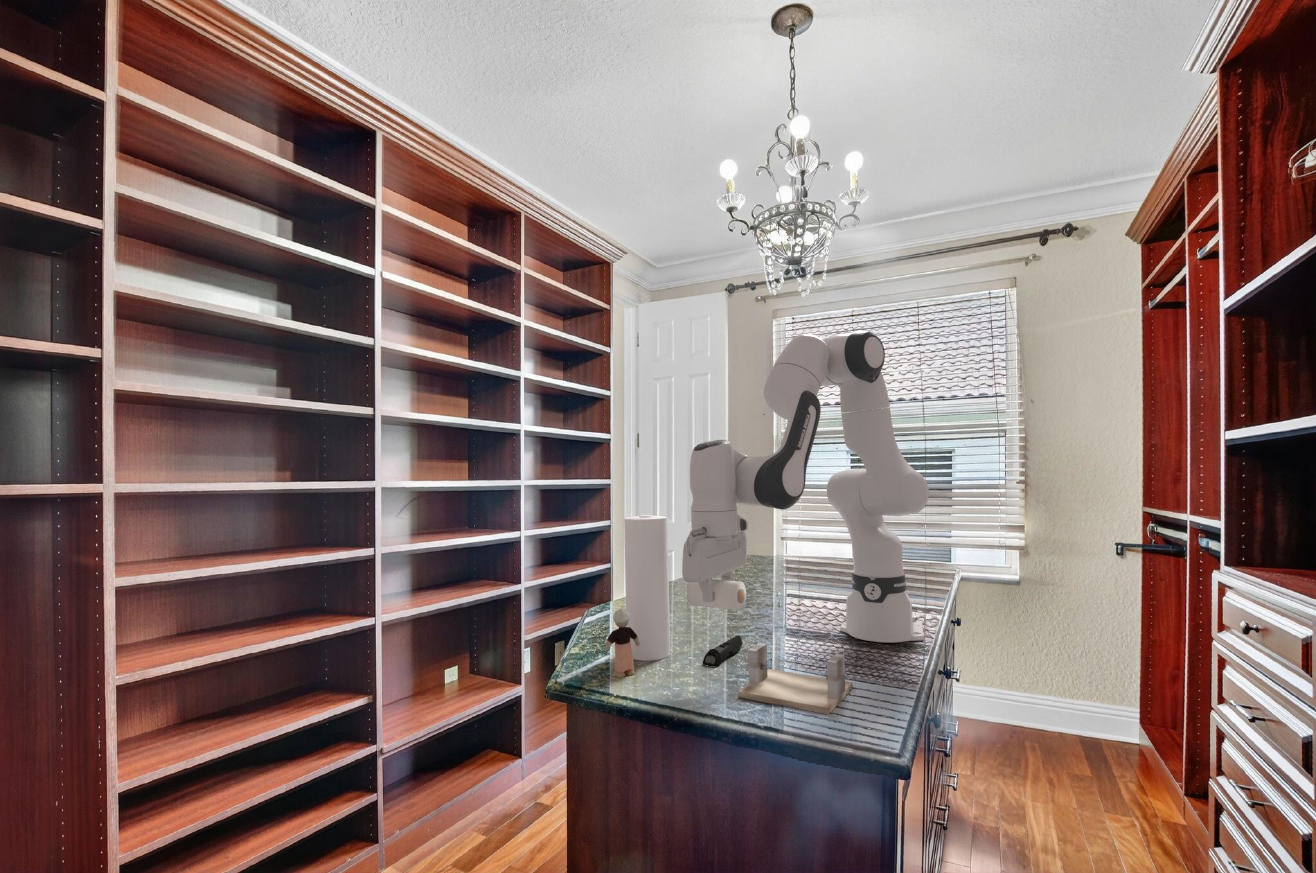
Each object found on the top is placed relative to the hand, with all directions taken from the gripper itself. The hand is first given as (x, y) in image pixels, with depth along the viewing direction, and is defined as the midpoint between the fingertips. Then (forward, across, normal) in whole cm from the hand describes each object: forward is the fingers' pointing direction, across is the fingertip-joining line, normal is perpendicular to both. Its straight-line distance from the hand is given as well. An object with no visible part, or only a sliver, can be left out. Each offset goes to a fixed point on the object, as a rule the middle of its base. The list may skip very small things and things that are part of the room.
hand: (717, 598), depth 121 cm
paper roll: (+1, +1, 0) cm, 2 cm away
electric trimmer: (+16, +14, +6) cm, 22 cm away
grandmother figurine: (+15, -6, +18) cm, 25 cm away
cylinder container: (+15, +8, +21) cm, 27 cm away
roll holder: (+15, +1, -15) cm, 21 cm away
